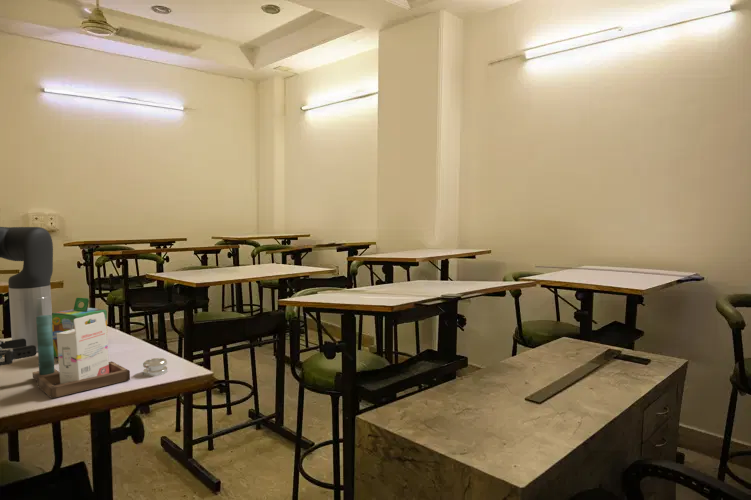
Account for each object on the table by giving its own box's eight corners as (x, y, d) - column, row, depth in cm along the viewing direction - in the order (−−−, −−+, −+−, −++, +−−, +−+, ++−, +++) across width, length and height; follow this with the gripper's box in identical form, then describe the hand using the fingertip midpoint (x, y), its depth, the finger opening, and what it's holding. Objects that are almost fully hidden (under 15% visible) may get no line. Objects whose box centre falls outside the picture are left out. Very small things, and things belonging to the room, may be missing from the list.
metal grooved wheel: (160, 368, 115) (139, 373, 111) (160, 356, 114) (138, 361, 111) (171, 372, 111) (149, 378, 108) (170, 359, 111) (149, 365, 107)
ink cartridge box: (91, 376, 109) (88, 311, 108) (110, 377, 108) (107, 311, 107) (58, 389, 100) (54, 318, 100) (78, 390, 99) (74, 318, 99)
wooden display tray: (28, 378, 107) (25, 316, 106) (100, 363, 118) (98, 307, 117) (51, 398, 95) (48, 328, 94) (130, 379, 106) (127, 317, 105)
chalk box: (52, 357, 124) (48, 300, 123) (85, 348, 133) (82, 294, 132) (77, 361, 121) (74, 302, 120) (109, 351, 129) (107, 296, 128)
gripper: (-69, 351, 87) (38, 334, 99) (-77, 338, 97) (21, 324, 109) (-66, 391, 88) (40, 370, 100) (-74, 375, 98) (23, 357, 109)
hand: (30, 346), depth 104 cm, fingers open, 8 cm apart
